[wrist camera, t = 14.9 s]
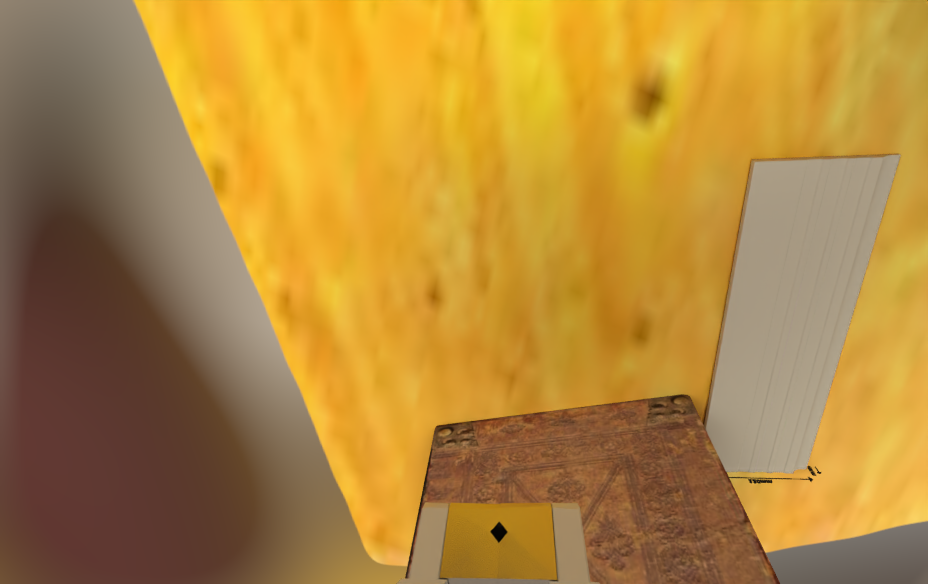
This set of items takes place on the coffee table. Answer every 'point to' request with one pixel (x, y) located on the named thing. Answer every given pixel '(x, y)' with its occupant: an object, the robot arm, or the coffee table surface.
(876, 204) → the baseboard molding
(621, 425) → the book
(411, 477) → the coffee table surface
